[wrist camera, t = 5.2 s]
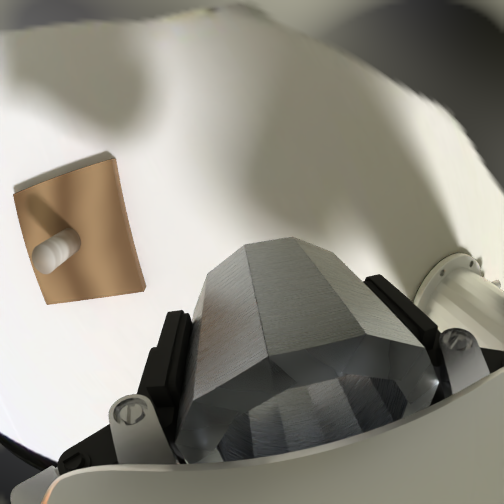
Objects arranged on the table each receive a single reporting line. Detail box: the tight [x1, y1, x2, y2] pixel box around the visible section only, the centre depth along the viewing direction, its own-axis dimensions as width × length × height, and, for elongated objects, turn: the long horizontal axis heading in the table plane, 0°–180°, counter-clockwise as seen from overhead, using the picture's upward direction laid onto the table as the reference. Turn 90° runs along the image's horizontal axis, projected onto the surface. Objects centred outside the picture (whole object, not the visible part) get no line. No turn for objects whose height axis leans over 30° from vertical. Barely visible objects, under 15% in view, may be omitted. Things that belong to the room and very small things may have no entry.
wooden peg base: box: [13, 159, 146, 305], centre depth 21 cm, size 12×12×6 cm
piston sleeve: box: [175, 237, 439, 464], centre depth 8 cm, size 6×6×6 cm
